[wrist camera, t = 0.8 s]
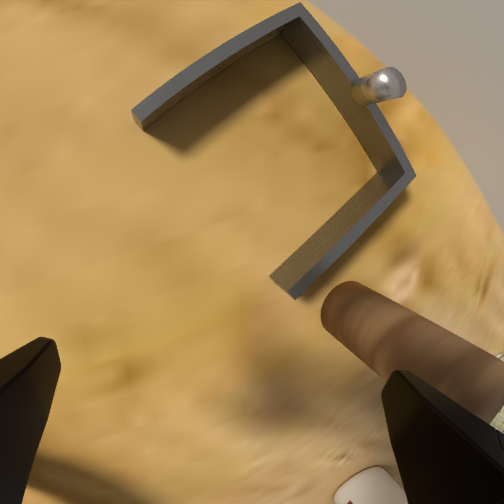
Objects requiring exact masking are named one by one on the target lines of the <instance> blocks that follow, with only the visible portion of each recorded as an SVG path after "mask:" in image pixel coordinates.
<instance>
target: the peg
mask: <svg viewBox="0 0 504 504" xmlns="http://www.w3.org/2000/svg"><path fill="white" fill-rule="evenodd" d="M321 322H322V325H323V327H324V328H325V329H326V330H327V331H328V332H329V333H330V334H331V335H332V336H334V337H335V338H336V339H337V340H338V341H339V342H341V343H342V344H343V345H344V346H345V347H346V348H348V349H349V350H350V351H351V352H352V353H354V354H355V355H356V356H357V357H358V358H359V359H361V360H362V361H363V362H364V363H365V364H366V365H368V366H369V367H370V368H371V369H372V370H374V371H375V372H376V373H377V374H378V375H379V376H381V377H382V378H383V379H384V380H385V381H387V380H388V378H389V377H390V375H391V373H392V372H393V371H394V370H396V369H408V370H409V371H411V372H412V373H414V374H415V375H417V376H418V377H420V378H421V379H423V380H424V381H426V382H427V383H428V384H430V385H431V386H433V387H434V388H436V389H437V390H439V391H440V392H442V393H443V394H445V395H446V396H448V397H449V398H451V399H452V400H454V401H455V402H457V403H458V404H460V405H461V406H463V407H464V408H466V409H467V410H469V411H470V412H472V413H473V414H475V415H476V416H478V417H479V418H481V419H482V420H484V421H485V422H487V423H488V424H490V423H491V422H492V420H493V419H494V418H495V416H496V415H497V414H498V412H499V411H500V409H501V407H502V406H503V404H504V361H502V360H500V359H499V358H497V357H495V356H493V355H491V354H490V353H488V352H486V351H484V350H483V349H481V348H479V347H477V346H475V345H474V344H472V343H470V342H468V341H466V340H464V339H463V338H461V337H459V336H457V335H455V334H454V333H452V332H450V331H448V330H446V329H444V328H443V327H441V326H439V325H437V324H435V323H433V322H432V321H430V320H428V319H426V318H424V317H422V316H420V315H419V314H417V313H415V312H413V311H411V310H409V309H407V308H406V307H404V306H402V305H400V304H398V303H396V302H394V301H392V300H391V299H389V298H387V297H385V296H383V295H381V294H379V293H377V292H375V291H374V290H372V289H370V288H368V287H366V286H364V285H362V284H360V283H358V282H355V281H347V282H344V283H341V284H339V285H338V286H336V287H335V288H334V289H333V290H332V291H331V292H330V293H329V294H328V295H327V297H326V299H325V300H324V303H323V305H322V309H321Z"/></svg>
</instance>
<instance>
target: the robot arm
mask: <svg viewBox="0 0 504 504" xmlns="http://www.w3.org/2000/svg"><path fill="white" fill-rule="evenodd" d="M60 371H61V362H60V358H59V354H58V350H57V345H56V342H55V341H54V340H53V339H50V338H46V337H38V338H37V339H35V340H33V341H31V342H29V343H28V344H26V345H24V346H22V347H21V348H19V349H17V350H15V351H13V352H12V353H10V354H8V355H6V356H5V357H3V358H1V359H0V504H22V500H23V496H24V492H25V489H26V485H27V482H28V478H29V475H30V471H31V468H32V465H33V461H34V458H35V455H36V452H37V449H38V446H39V443H40V440H41V437H42V434H43V432H44V429H45V426H46V423H47V420H48V416H49V413H50V409H51V405H52V401H53V397H54V393H55V389H56V386H57V382H58V379H59V375H60ZM381 397H382V403H383V407H384V412H385V417H386V422H387V427H388V432H389V437H390V441H391V445H392V449H393V452H394V455H395V459H396V462H397V465H398V469H399V472H400V476H401V479H402V483H403V487H404V490H405V494H406V498H407V502H408V504H504V434H503V433H501V432H500V431H499V430H496V429H495V428H494V427H493V426H491V425H490V424H488V423H487V422H485V421H484V420H482V419H481V418H479V417H478V416H476V415H475V414H473V413H472V412H470V411H469V410H467V409H466V408H464V407H463V406H461V405H460V404H458V403H457V402H455V401H454V400H452V399H451V398H449V397H448V396H446V395H445V394H443V393H442V392H440V391H439V390H437V389H436V388H434V387H433V386H431V385H430V384H428V383H427V382H426V381H424V380H423V379H421V378H420V377H418V376H417V375H415V374H414V373H412V372H411V371H409V370H408V369H396V370H394V371H393V372H392V373H391V375H390V377H389V378H388V380H387V382H386V384H385V386H384V388H383V390H382V394H381Z"/></svg>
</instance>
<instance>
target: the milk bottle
mask: <svg viewBox="0 0 504 504" xmlns="http://www.w3.org/2000/svg"><path fill="white" fill-rule="evenodd" d="M334 502H335V504H408V502H407V498H406V494H405V492H404V491H403V490H402V489H401V488H400V487H399V485H398V484H397V483H396V482H395V481H394V480H393V479H392V478H391V477H390V475H389V474H388V473H387V472H386V471H385V470H384V469H383V468H380V467H371V468H368V469H366V470H363V471H361V472H359V473H357V474H356V475H354V476H353V477H351V478H350V479H348V480H347V481H346V482H345V483H343V484H342V485H341V486H340V487H339V489H338V490H337V491H336V493H335V495H334Z"/></svg>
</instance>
